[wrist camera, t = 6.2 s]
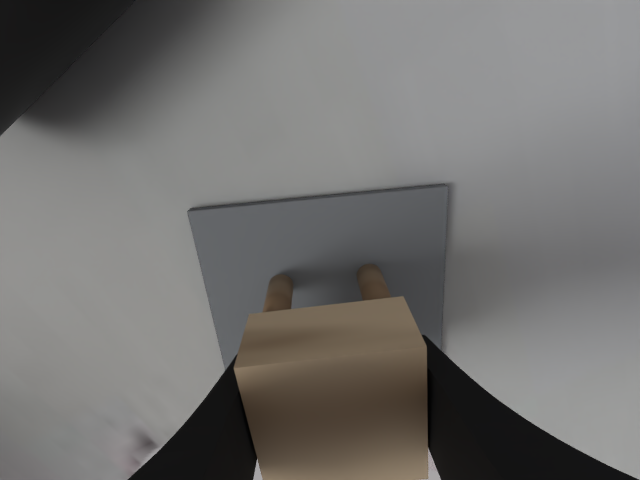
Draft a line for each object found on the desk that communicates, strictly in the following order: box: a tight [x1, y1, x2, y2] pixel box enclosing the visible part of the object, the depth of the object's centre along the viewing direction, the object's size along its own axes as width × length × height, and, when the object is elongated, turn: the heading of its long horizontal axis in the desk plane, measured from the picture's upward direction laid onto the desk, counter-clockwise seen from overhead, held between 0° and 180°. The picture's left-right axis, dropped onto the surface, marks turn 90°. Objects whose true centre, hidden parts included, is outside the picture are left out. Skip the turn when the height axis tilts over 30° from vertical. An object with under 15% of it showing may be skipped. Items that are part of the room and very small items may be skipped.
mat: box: [187, 184, 448, 370], centre depth 16 cm, size 10×10×1 cm
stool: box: [234, 264, 428, 480], centre depth 13 cm, size 5×5×6 cm
